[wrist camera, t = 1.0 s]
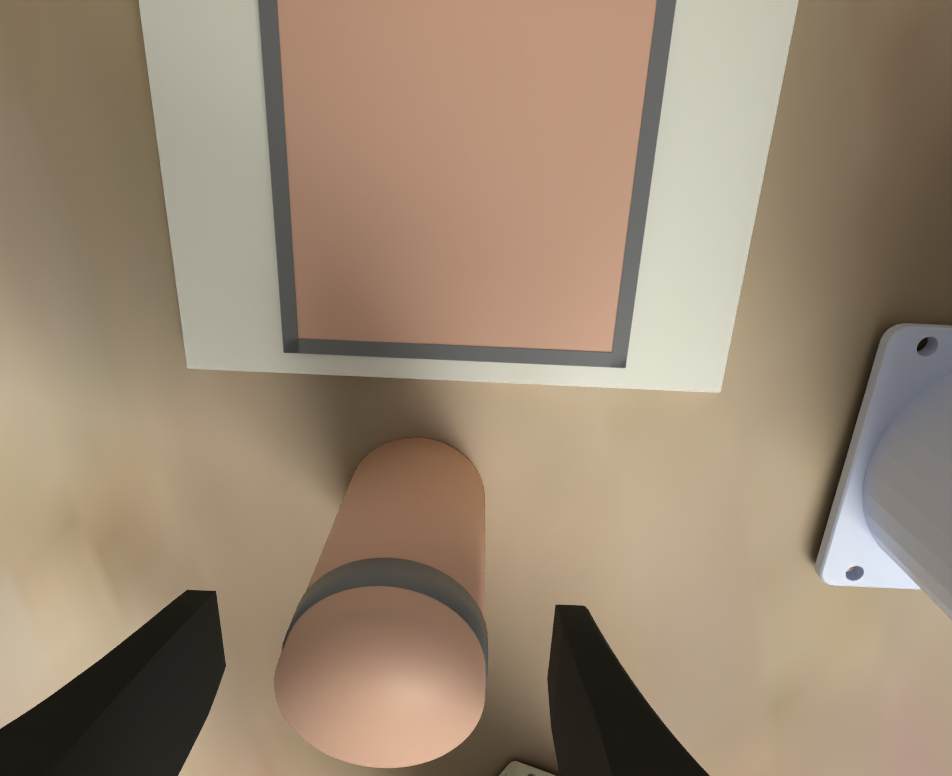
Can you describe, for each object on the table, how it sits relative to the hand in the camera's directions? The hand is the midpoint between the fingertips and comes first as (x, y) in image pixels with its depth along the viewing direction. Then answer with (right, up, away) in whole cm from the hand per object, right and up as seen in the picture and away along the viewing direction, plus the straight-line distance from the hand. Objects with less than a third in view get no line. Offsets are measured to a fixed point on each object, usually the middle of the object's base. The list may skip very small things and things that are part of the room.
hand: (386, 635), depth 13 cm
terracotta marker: (0, +2, +5) cm, 6 cm away
